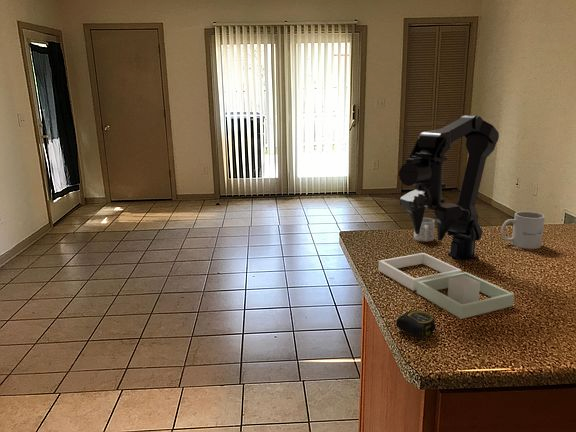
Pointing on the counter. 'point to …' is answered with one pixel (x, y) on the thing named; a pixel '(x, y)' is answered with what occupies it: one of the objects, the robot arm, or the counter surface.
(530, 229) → the mug
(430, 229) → the mug
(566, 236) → the counter surface
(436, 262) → the bin
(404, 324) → the tape measure
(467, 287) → the stone cube
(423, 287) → the bin
